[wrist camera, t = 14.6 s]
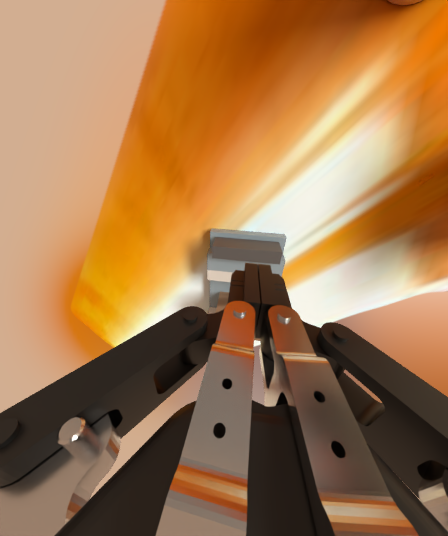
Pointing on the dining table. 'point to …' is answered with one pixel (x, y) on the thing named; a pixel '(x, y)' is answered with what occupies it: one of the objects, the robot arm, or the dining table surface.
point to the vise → (281, 238)
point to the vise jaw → (241, 257)
